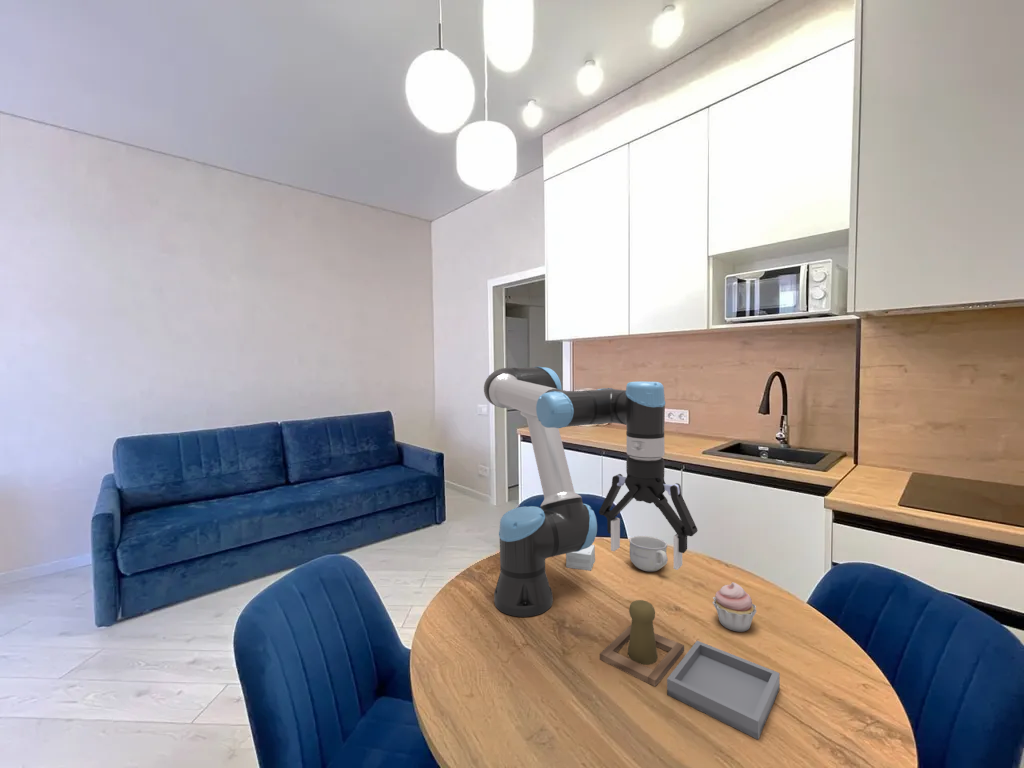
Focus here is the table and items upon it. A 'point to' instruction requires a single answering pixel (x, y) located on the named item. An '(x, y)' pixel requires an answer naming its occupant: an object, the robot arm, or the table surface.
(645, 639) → the olive bulb peg
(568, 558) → the small box
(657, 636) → the socket block
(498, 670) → the table surface
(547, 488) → the robot arm
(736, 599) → the cupcake
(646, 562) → the teacup
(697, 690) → the tray
